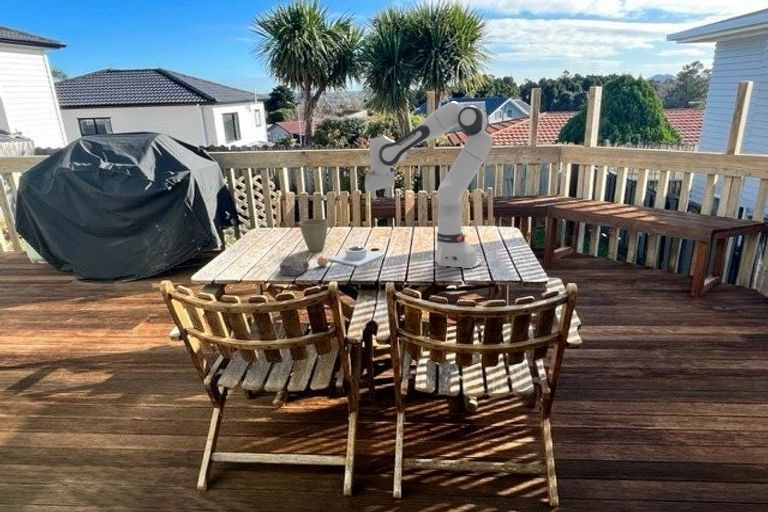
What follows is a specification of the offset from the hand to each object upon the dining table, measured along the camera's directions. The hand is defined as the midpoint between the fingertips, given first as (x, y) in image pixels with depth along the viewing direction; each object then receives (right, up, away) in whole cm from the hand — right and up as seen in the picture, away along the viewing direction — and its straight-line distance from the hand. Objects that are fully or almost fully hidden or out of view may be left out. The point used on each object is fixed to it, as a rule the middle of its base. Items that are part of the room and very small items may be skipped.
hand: (380, 197), depth 225 cm
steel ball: (-12, -27, +1) cm, 29 cm away
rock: (-40, -37, -15) cm, 57 cm away
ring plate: (-12, -31, +1) cm, 33 cm away
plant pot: (-35, -26, +18) cm, 48 cm away
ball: (-28, -32, -9) cm, 43 cm away
